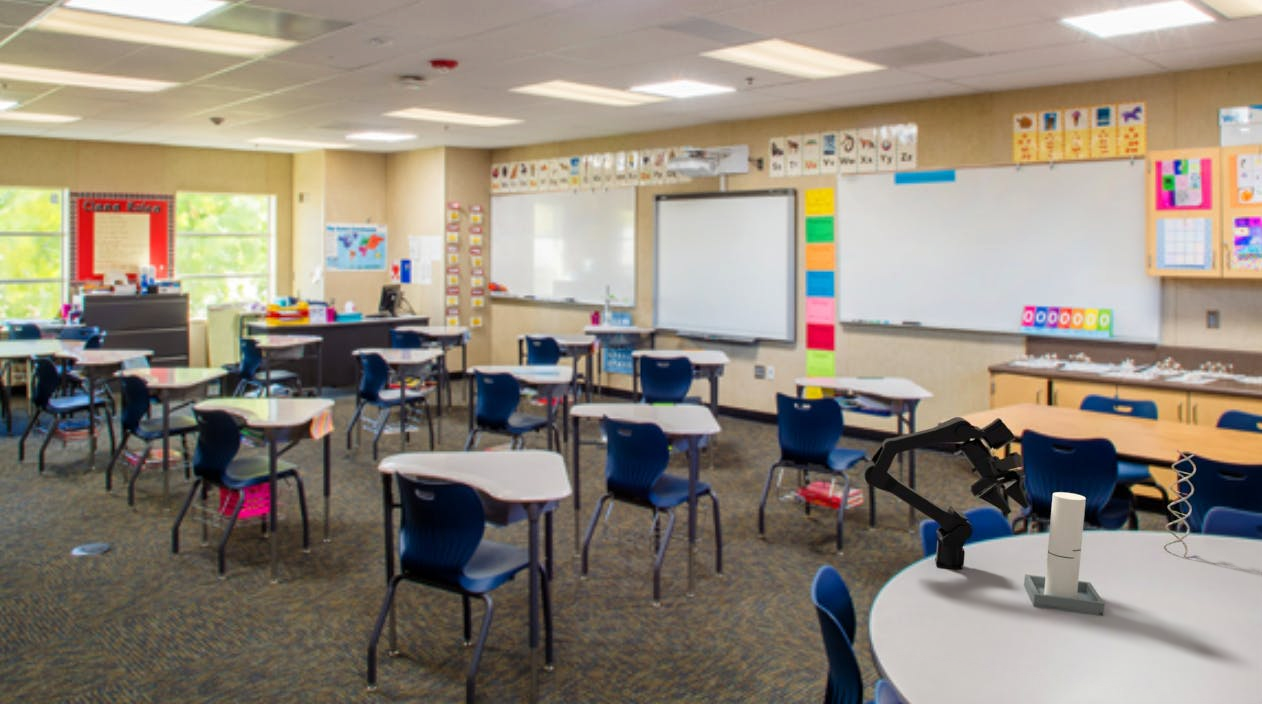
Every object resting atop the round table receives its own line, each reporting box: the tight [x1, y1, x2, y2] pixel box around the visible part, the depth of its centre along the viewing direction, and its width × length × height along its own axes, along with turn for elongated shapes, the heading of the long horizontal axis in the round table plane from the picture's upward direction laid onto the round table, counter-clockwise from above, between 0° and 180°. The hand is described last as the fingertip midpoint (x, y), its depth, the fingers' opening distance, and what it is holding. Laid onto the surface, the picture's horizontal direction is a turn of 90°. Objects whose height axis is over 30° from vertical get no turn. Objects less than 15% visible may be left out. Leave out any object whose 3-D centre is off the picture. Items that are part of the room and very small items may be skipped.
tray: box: [1023, 573, 1105, 617], centre depth 216 cm, size 15×15×3 cm
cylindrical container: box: [1044, 491, 1087, 599], centre depth 215 cm, size 7×7×25 cm
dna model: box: [1163, 449, 1197, 557], centre depth 256 cm, size 7×6×30 cm
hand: (1018, 510), depth 226 cm, fingers open, 9 cm apart
